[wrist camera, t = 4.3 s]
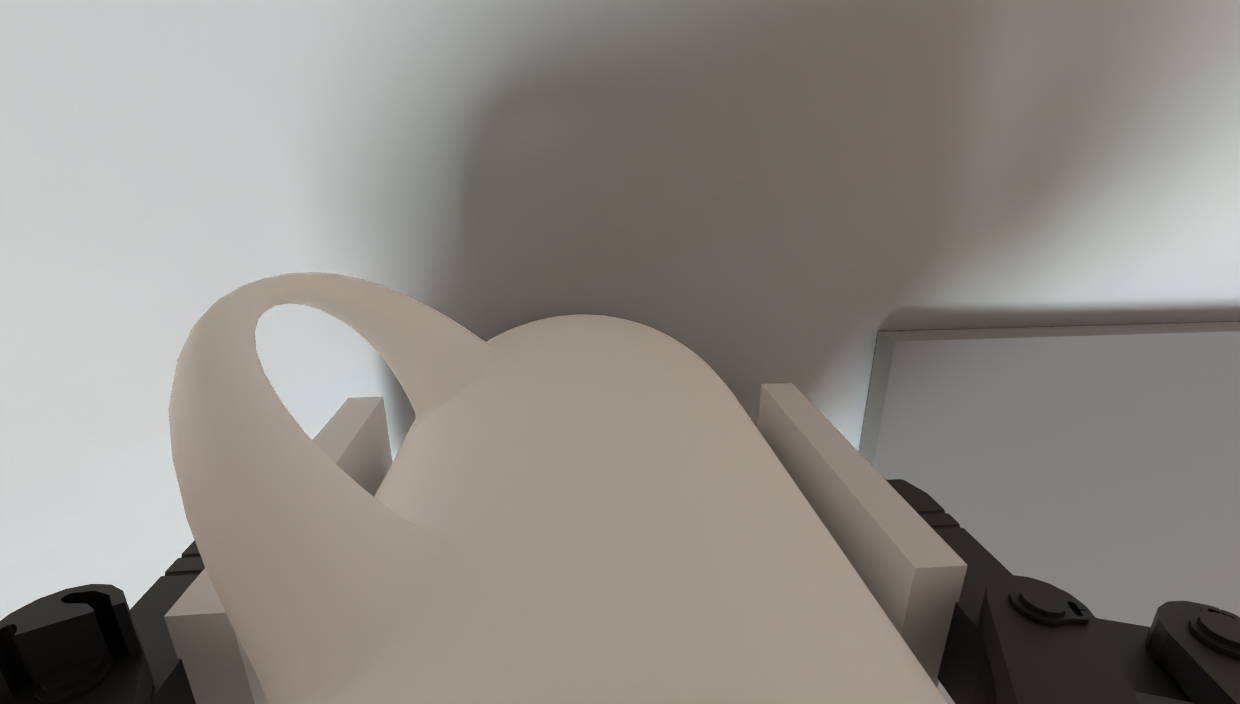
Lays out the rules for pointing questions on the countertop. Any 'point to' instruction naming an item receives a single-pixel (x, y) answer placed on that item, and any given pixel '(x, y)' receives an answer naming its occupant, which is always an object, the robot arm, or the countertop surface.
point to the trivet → (1075, 453)
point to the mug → (518, 524)
